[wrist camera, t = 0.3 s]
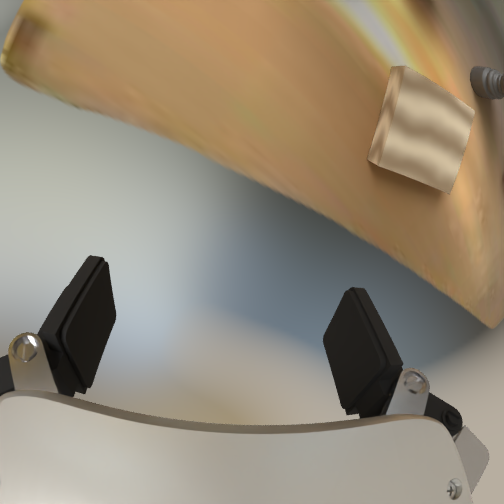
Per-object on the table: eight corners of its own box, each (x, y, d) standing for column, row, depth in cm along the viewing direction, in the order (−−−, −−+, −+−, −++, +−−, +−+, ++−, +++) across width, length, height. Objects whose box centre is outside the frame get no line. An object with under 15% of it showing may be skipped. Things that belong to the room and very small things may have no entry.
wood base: (391, 66, 30) (405, 65, 27) (460, 107, 33) (475, 111, 29) (366, 159, 38) (378, 166, 35) (436, 186, 41) (449, 194, 37)
